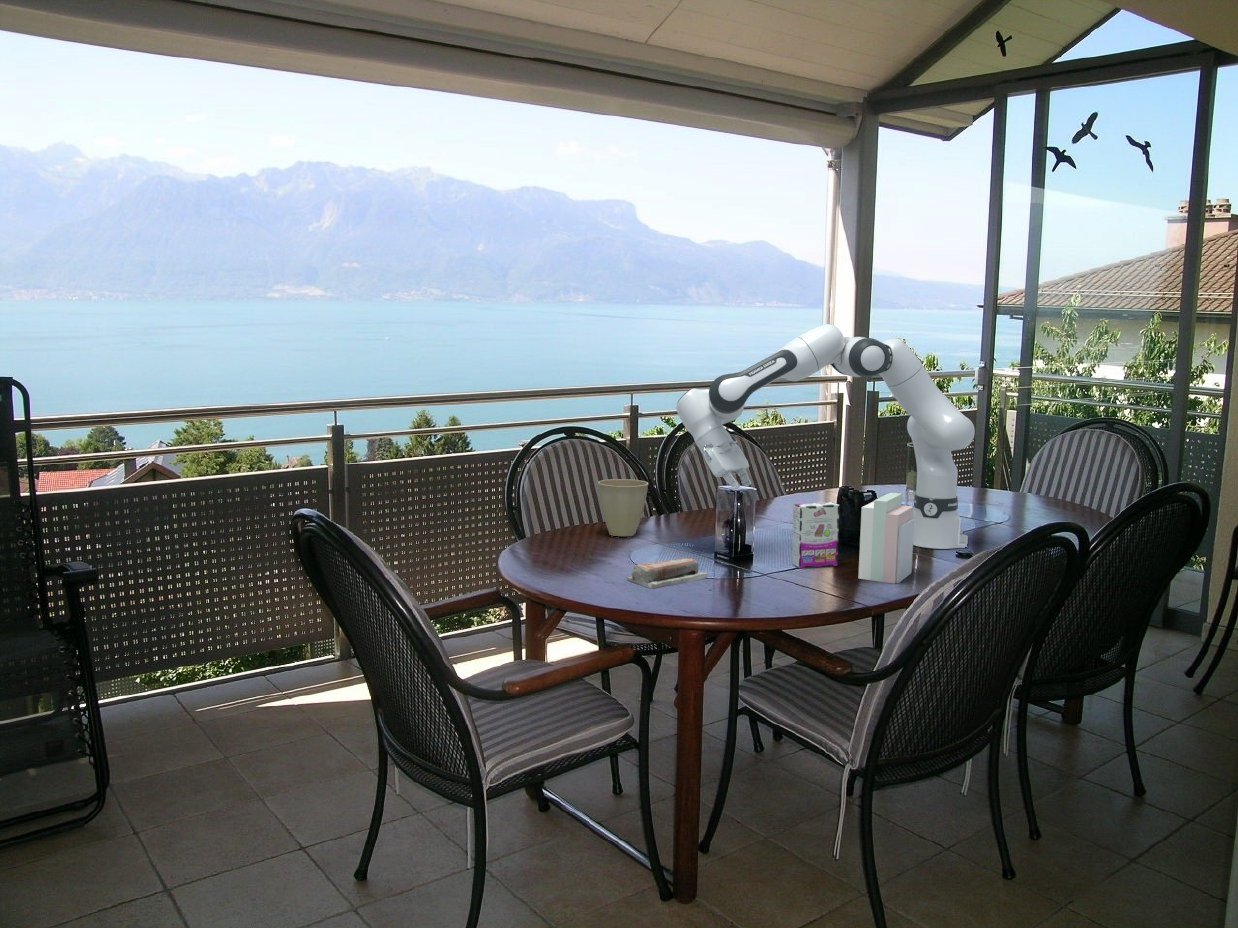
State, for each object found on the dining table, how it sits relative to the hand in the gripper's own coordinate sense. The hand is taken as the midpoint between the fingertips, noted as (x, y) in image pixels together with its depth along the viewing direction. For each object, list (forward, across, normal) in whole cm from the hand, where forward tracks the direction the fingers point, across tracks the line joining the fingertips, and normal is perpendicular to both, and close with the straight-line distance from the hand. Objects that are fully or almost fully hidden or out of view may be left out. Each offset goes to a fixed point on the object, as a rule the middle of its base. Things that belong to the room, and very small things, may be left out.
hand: (743, 486), depth 259 cm
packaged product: (+12, -30, +20) cm, 38 cm away
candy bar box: (+28, +1, -4) cm, 28 cm away
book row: (+39, 0, -19) cm, 43 cm away
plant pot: (-10, +11, +43) cm, 46 cm away
